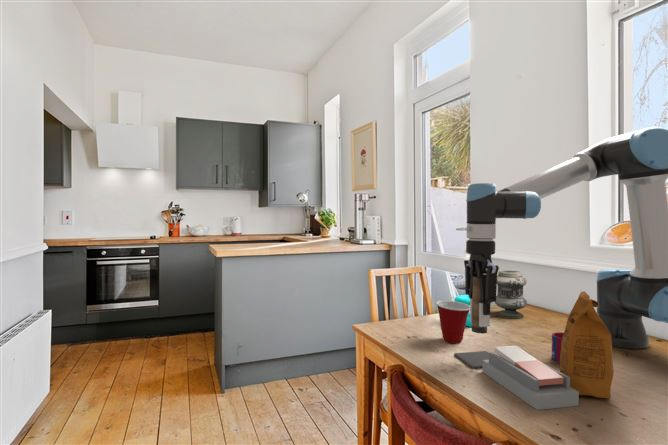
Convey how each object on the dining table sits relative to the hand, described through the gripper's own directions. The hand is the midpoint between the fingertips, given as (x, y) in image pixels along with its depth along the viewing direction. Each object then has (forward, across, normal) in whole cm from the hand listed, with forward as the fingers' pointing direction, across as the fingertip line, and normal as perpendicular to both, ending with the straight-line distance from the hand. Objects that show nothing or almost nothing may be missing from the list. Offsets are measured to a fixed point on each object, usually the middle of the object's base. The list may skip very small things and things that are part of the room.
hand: (479, 323), depth 107 cm
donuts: (+11, -34, +16) cm, 39 cm away
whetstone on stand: (+10, +17, +2) cm, 20 cm away
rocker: (+5, +17, +2) cm, 18 cm away
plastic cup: (+11, -17, +1) cm, 20 cm away
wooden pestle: (+2, 0, 0) cm, 2 cm away
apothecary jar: (+10, -42, +39) cm, 58 cm away
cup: (+10, +5, +25) cm, 28 cm away
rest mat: (+10, 0, 0) cm, 10 cm away
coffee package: (+10, +20, +14) cm, 27 cm away
